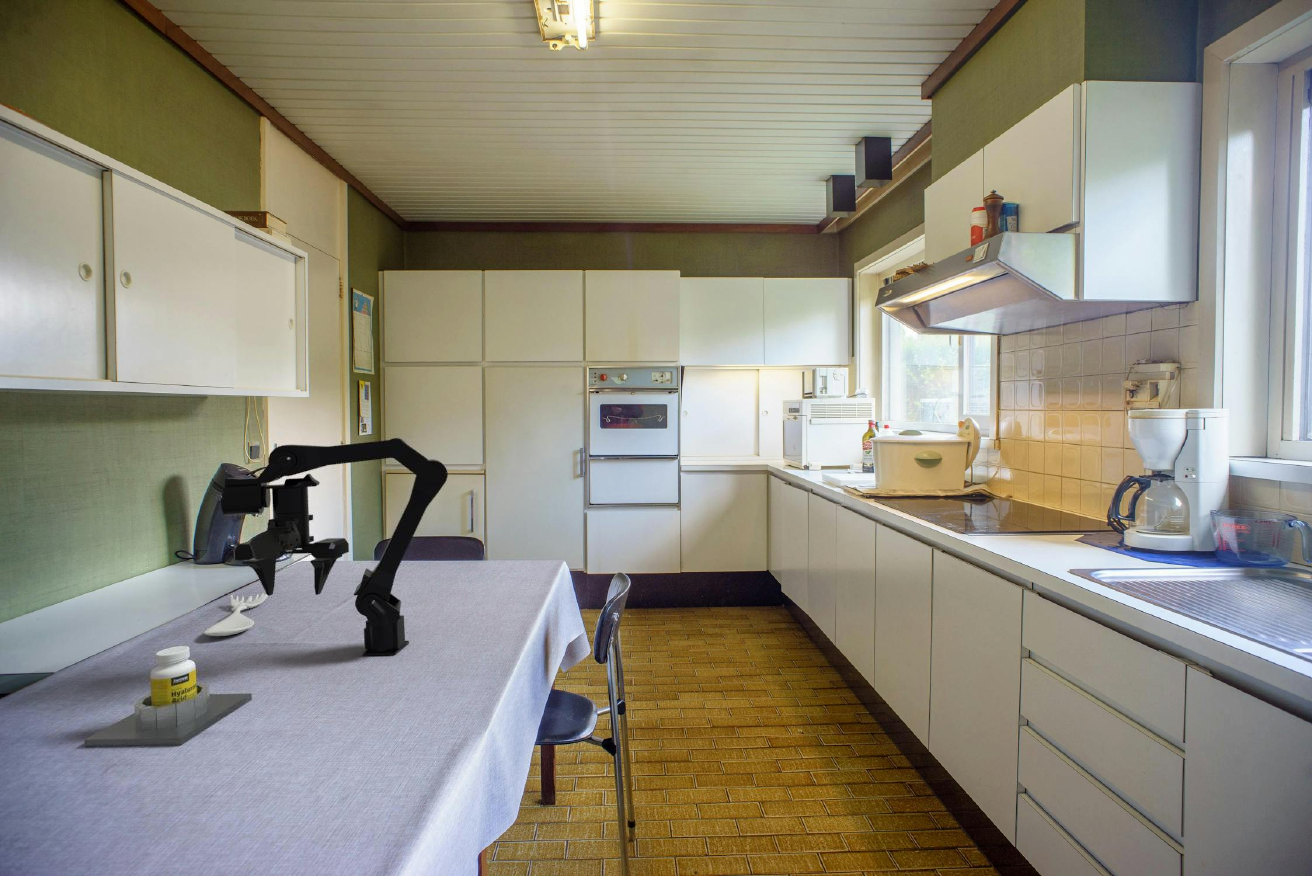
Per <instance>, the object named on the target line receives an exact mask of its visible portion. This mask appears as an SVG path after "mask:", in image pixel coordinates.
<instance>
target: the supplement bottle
mask: <svg viewBox="0 0 1312 876" xmlns="http://www.w3.org/2000/svg"><path fill="white" fill-rule="evenodd" d="M190 655H191V654H190V647H189V646H187V645H179V646H173V647H172V646H171V647H168V648H165V649H162V650H160V651H157V652H156V653H155V662H156V665H157V666H155V667H154V668H153V669H152V670H151V671H150V676H149V678H150V693H151V705H152V706H162V705H167V704H172V703H176V702H179V701H182V700H185V699H188V698H191V697H193V696H194V695H196V694H197V688H196V683H197V668H196V663H195V662H194V661H193V660H191V659H189V658H190Z"/></svg>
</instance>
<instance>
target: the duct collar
mask: <svg viewBox="0 0 1312 876" xmlns="http://www.w3.org/2000/svg"><path fill="white" fill-rule="evenodd" d="M196 688H197V694H196V695H194V696H193V697H191V698H188V699H185V700H182V701H179V702H176V703H172V704H167V705H162V706H152V705H151V692H150V693H148V694H147V695H144V696H143V697H141V698H139V699H137V701H136V702H135V703H134V705H133V706H134V712H133V713H132V714H130V715H128V716H126V717H124V718H122V719H120V720H119V721H117V722H115V723H112V724H111V725H109V726H107V727H106V728H104V729H102V730H100V731H98V732H96V733H94V734H92V735H91V736H89V737H87V738H85V739H84V743H83V744H84V747H86V748H89V747H148V746H149V747H153V746H154V747H155V746H157V747H159V746H161V747H162V746H163V747H164V746H165V747H166V746H182V745H183V744H185V743H187V742H188V741H190V740H192V739H193V738H195V737H197V736H198V735H199V734H202V732H204V731H205V730H207V729H208V728H210V727H212V726H213V725H215V724H216V723H218V722H219V721H221V720H223V719H224V718H226V717H227V716H228V715H231V714H232V713H233V712H235V711H236V710H238V709H240V708H241V707H243V706H244V705H245V704H247V703H248V702H251V701H252V700H253V699H252V697H253V695H252V693H211V694H210V686H209V685H208V684H206V683H204V682H196Z"/></svg>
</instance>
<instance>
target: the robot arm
mask: <svg viewBox="0 0 1312 876" xmlns="http://www.w3.org/2000/svg"><path fill="white" fill-rule="evenodd" d="M385 459H394V460H395V461H397V462H398V463H399V464H401V466H403V467H404V468H406V469H408V470H409V471H410V472H411V473H413V474H414V475H415V477H414V481H413V485H412V490H411V491H410V492H411V493H410V497H409V499H408V502H407V504H406V506H405V508H404V510H403V512H402V514H401V517H400V518H399V520H398V522H397V525H396V527H395V529H394V531H393V533H392V535H391V537H390V540H389V541H388V544H387V545H386V548H385V550H384V551H383V553H382V556H381V558H380V560H379V562H378V564H377V565H376V566H375V567H374V569H373V570H370V569H368V568H365V569H364V573H363V576H362V579H361V581H360V583H359V584H358V585H356V588H355V591H354V593H353V596H356V597H355V602H354V604H355V605H354V606H355V608H356V611H357V612H358V613H359V614H360V615H362V616H364V617H365V618H366V620H365V627H364V628H363V643H364V649H365V650H364V651H362V656H393V655H396V654H398V653H400V651H401V650H403V649H404V648H405V647H406V646H407V645H409V644H410V640H406V633H405V630H406V629H405V615H403V614H402V615H400V614H401V608H402V607H401V606H402V601H401V599H399V598H398V597H396V596H395V595H394V594H393V593H392V589H393V585H394V582H395V579H396V578H395V577H396V574H397V571H398V569H399V567H400V565H401V563H402V560H403V559H404V557H405V554H406V552H407V550H408V548H409V546H410V544H411V542H412V539H413V538H414V535H415V533H416V531H417V529H418V527H419V525H420V523H421V520H422V518H423V516H424V514H425V513H426V510H427V508H428V507H429V505H430V504H431V503H432V502H433V501H434V499H435V497H436V496H438V494H439V492H440V490H441V489H442V488H443V487H444V485H445V484H446V482H447V479H448V477H449V474H448V470H447V467H446V466H445V465H444V463H442V462H441V461H440V460H437V459H428V458H427V457H425V455H423V454H422V453H421V452H418V451H417V450H416V449H414V448H413V447H412V446H411V445H409V444H407V443H406V441H405V440H404V439H402V438H400V437H393V438H391V439H384V440H374V441H367V442H357V443H349V444H347V443H346V444H338V445H329V446H328V445H327V446H326V445H325V446H323V445H310V444H284V445H279V446H276V447H275V448H274V449H272V450H271V452H270V453H269V455H268V459H267V460H268V461H267V463H268V464H267V466H266V467H265V468H264V469H263V470H262V472H261V473H259V476H258V477H249V478H248V477H247V478H245V477H243V478H240V477H228V478H226V479H224V486H223V489H222V497H220V505H221V511H222V514H223V515H224V516H225V517H228V516H229V517H230V516H231V517H232V516H244V515H258V514H260V515H261V514H263V513H264V511H265V508H266V509H267V508H270V506H271V500H272V518H269V519H268V522H267V527H266V530H265V531H262V532H260V534H258V535H257V536H256V537H255V538H253V539H252V540H248V541H245V542H241V543H238V544H237V545H236V546H235V548H234V550H233V559H234V561H240V563H241V564H242V565H245V566H248V567H249V568H251V569H253V571H254V572H255V574H256V575H257V577H258V579H259V581H260V584H261V586H262V587H263V589H264V591H265V594H267V595H268V597H270V596H272V595H273V594H274V590H275V581H276V566H277V559H280V558H282V557H283V556H284V555H291V554H292V555H293V554H294V555H297V554H298V555H299V554H300V555H301V554H303V555H304V554H305V555H306V554H310V555H311V556H312V557H313V559H311V560H309V562H310V564H311V565H312V567H313V570H314V571H313V574H314V576H313V577H314V578H313V579H314V581H313V582H314V583H313V586H314V595H316V596H318V595H320V594H322V591H323V589H324V587H325V584H326V582H327V579H328V578H329V575H330V573H331V571H332V568H333V567H334V565H335V563H336V562H337V559H340V558H342V557H343V555H344V554H347V553H350V545H349V542H348V541H347V539H346V538H345V537H335V538H333V537H332V538H330V537H329V538H325V539H321V540H319V541H315V537H314V535H310V521H313V520H314V515H313V514H309V513H310V512H309V511H310V510H309V509H310V507H309V489H308V488H311V487H317V486H319V485H320V481H319V480H317V479H316V478H314V477H313V476H312V474H311V473H306V472H310V471H314V470H317V469H320V468H323V467H327V466H332V465H333V466H334V465H342V464H348V463H352V464H353V463H358V462H366V461H369V462H370V461H376V460H385ZM303 473H306V474H305V476H304V477H297V478H285V480H284V483H282V484H281V483H280V484H270V483H273V482H276V481H279V480H280V479H282V478H284V477H292V476H295V475H297V474H303ZM271 497H272V499H271Z"/></svg>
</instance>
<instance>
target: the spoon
mask: <svg viewBox="0 0 1312 876" xmlns="http://www.w3.org/2000/svg"><path fill="white" fill-rule="evenodd" d="M268 597H269V596H268V595H267V594H266V593H264V592H262V593H261V595H260V596H259V594H257V595H256V596H255V597H254V599H253V596H252V595H249V596H248V598H247V599H246V600H245V597H244V595H243V596H242V597H241V599H240V598H239V595H237V596H236V597H235V598H234V596H233V594H231V595H230V596H229V604H230V606H231V607H232V608H231V609H230V610H231V611H232V612H233V613H231V614H230V615H229V616H227V617H226V618H224V619H222V620H220V621H219V622H216V623H215V624H213V625H212V626H210V627H208V628H207V629H205V630H204V631H203V632H202V633H203V634H204V635H206V636H211V637H227V636H233V635H236V634H239V633H242V632H244V631H247V630H248V629H250V628H251V627H253V626H254V625H255V621H254V620H253V619H251V618H249V617H247V616H246V615H244V614H241V611H244V610H249V608H250V609H252V608H255V607H258V606H260V604H262V603H264V601H266V600H267V598H268Z"/></svg>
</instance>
